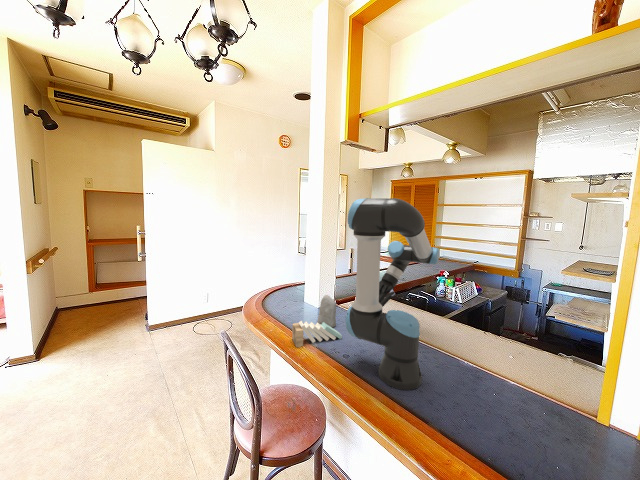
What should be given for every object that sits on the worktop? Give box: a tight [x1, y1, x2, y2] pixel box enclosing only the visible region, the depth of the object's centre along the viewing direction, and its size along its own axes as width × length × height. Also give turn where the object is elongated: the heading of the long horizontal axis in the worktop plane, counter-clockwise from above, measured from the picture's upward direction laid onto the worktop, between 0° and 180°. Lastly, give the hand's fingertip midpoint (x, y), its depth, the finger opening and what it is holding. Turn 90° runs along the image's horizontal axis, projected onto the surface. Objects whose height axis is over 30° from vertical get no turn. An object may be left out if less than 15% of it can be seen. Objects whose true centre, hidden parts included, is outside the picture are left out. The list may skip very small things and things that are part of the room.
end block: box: [291, 322, 304, 348], centre depth 121 cm, size 8×3×8 cm, turn 19°
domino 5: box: [321, 322, 343, 340], centre depth 126 cm, size 5×2×10 cm
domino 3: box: [308, 321, 330, 342], centre depth 124 cm, size 5×2×10 cm
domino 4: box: [315, 321, 337, 341], centre depth 125 cm, size 5×2×10 cm
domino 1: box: [298, 320, 316, 344], centre depth 122 cm, size 5×2×10 cm
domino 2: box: [303, 321, 323, 343], centre depth 123 cm, size 5×2×10 cm
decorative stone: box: [317, 294, 337, 328], centre depth 141 cm, size 11×6×15 cm, turn 41°
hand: (367, 316), depth 131 cm, fingers closed
